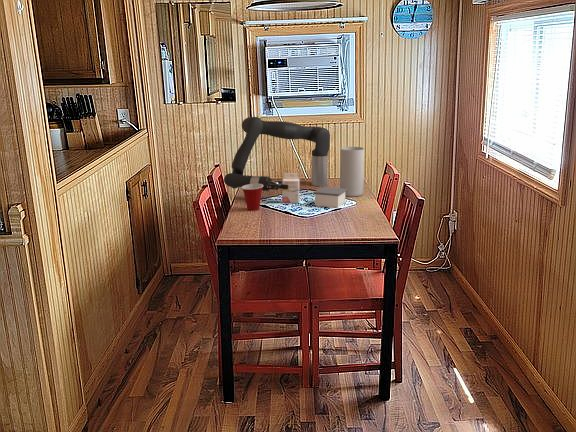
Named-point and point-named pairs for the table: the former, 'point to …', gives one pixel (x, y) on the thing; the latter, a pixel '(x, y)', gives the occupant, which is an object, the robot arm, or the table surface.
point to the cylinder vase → (352, 170)
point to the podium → (330, 197)
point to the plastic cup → (252, 195)
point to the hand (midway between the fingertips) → (290, 185)
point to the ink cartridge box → (291, 188)
